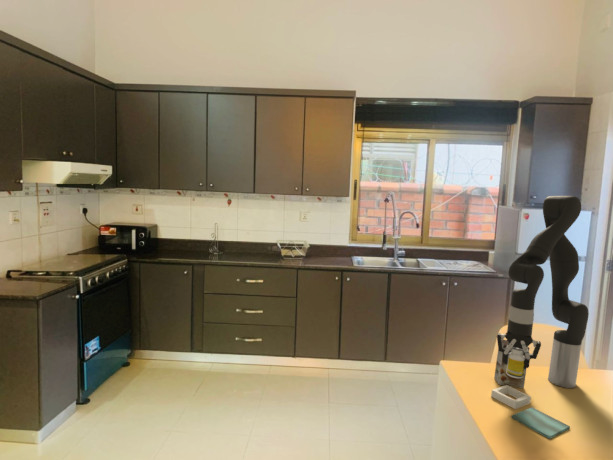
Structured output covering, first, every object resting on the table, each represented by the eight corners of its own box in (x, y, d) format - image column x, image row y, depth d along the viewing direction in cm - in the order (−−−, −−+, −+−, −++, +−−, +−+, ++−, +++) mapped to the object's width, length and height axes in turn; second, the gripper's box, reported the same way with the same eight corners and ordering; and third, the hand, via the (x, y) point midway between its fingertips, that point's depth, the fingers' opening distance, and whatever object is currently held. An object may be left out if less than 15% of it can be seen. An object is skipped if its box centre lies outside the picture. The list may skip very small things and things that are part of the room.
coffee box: (498, 385, 150) (503, 344, 148) (493, 377, 156) (498, 338, 155) (524, 388, 149) (529, 348, 147) (518, 380, 155) (523, 341, 153)
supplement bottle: (525, 380, 135) (528, 352, 134) (508, 377, 136) (511, 350, 135) (520, 372, 141) (523, 346, 140) (503, 370, 142) (506, 344, 141)
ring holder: (505, 391, 146) (506, 384, 145) (530, 403, 138) (530, 396, 138) (491, 396, 141) (491, 389, 141) (515, 409, 133) (516, 402, 133)
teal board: (531, 409, 134) (531, 407, 134) (569, 428, 124) (569, 426, 124) (511, 417, 128) (511, 415, 128) (549, 438, 118) (549, 436, 118)
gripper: (497, 318, 136) (492, 364, 138) (545, 327, 130) (539, 375, 131) (498, 312, 143) (493, 357, 145) (544, 320, 136) (538, 367, 138)
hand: (515, 365), depth 138 cm, fingers closed on supplement bottle, 5 cm apart
